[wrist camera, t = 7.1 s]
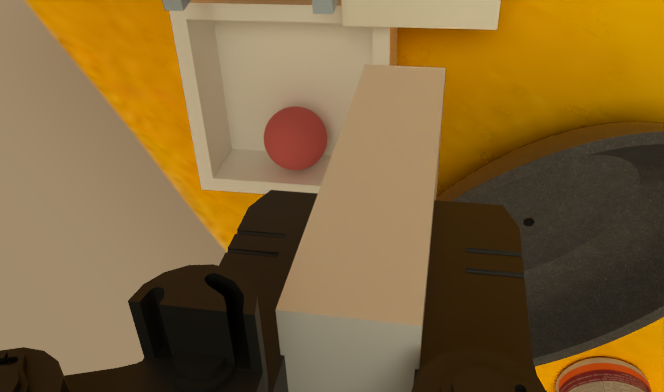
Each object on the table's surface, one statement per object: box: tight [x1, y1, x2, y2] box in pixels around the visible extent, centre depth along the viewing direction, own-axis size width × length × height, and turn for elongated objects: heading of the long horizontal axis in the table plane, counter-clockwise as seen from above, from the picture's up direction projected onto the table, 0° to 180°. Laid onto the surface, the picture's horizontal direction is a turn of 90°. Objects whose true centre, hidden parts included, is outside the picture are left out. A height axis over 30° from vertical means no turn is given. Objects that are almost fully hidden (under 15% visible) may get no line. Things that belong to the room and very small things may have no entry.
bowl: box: [436, 122, 664, 366], centre depth 35 cm, size 12×22×6 cm, turn 132°
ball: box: [264, 107, 327, 170], centre depth 35 cm, size 4×4×4 cm
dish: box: [169, 0, 398, 194], centre depth 33 cm, size 11×11×4 cm
